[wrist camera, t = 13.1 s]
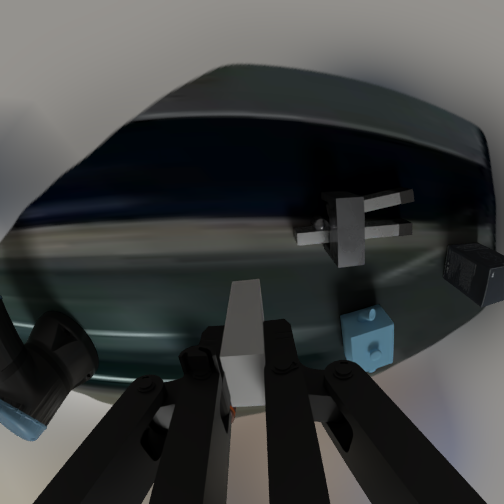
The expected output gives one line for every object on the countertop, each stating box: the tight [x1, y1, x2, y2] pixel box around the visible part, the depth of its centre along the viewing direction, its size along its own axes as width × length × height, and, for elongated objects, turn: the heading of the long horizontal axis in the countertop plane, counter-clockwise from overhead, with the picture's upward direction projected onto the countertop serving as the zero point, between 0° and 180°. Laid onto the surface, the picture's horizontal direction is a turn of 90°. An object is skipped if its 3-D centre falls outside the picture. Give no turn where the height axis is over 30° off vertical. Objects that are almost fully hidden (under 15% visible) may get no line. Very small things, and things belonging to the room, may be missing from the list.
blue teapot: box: [340, 304, 394, 373], centre depth 34 cm, size 12×6×8 cm, turn 15°
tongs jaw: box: [326, 187, 414, 216], centre depth 31 cm, size 11×2×3 cm, turn 105°
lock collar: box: [321, 191, 365, 268], centre depth 30 cm, size 3×7×7 cm, turn 6°
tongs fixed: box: [294, 215, 412, 245], centre depth 32 cm, size 15×3×3 cm, turn 97°
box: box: [443, 243, 504, 307], centre depth 29 cm, size 8×6×11 cm
